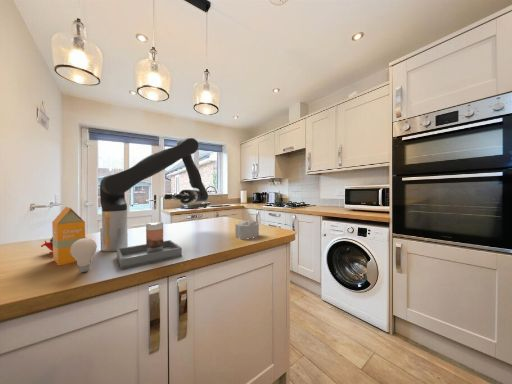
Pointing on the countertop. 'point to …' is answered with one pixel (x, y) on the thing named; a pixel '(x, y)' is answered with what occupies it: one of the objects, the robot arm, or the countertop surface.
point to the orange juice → (66, 235)
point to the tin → (154, 237)
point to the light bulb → (83, 253)
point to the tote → (139, 255)
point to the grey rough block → (246, 229)
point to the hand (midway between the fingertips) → (174, 197)
